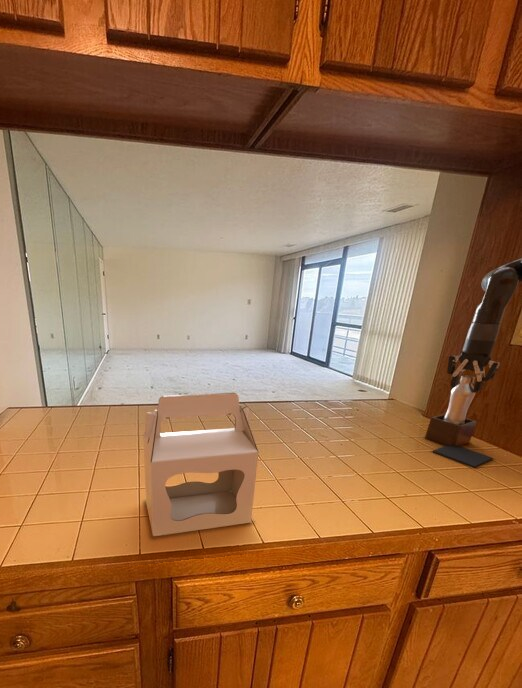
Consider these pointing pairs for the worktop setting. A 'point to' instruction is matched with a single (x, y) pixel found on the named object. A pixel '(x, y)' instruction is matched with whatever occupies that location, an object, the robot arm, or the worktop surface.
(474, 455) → the mat
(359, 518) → the worktop surface
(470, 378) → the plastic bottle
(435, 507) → the worktop surface
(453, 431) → the holder
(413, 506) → the worktop surface
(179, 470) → the gable box
